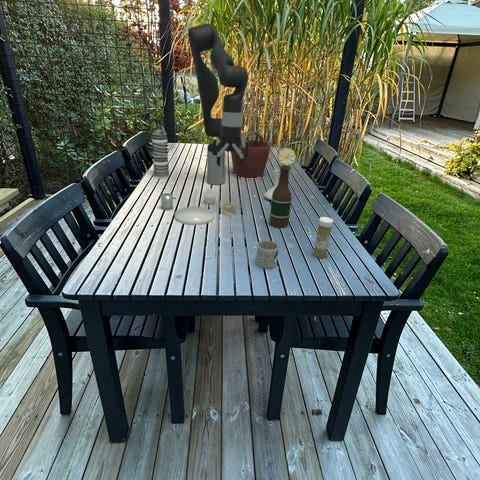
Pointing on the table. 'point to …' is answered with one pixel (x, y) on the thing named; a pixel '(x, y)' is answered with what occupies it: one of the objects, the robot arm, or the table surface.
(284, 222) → the beer bottle
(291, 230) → the table surface
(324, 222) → the sprinkles bottle
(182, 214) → the white bowl
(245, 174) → the brown flower pot
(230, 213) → the brass block
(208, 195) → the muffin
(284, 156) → the flower in vase
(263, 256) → the mug
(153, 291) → the table surface
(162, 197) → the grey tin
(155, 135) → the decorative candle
